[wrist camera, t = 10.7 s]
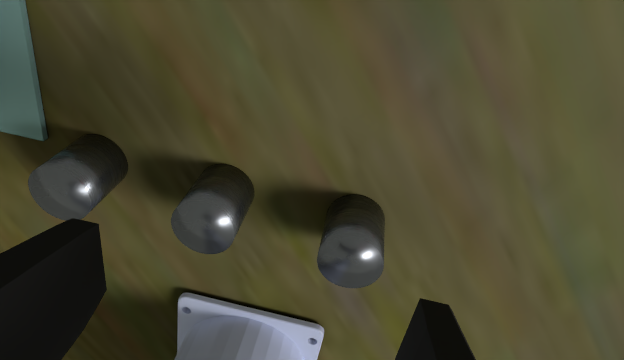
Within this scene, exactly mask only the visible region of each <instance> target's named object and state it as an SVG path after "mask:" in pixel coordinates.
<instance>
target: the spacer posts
mask: <svg viewBox="0 0 624 360" xmlns="http://www.w3.org/2000/svg"><path fill="white" fill-rule="evenodd" d="M127 171H128V164H127V160H126V157H125V155H124V153H123V152H122V150H121V149H120V148H119V147H118V146H117V145H116V144H115V143H114V142H113V141H111V140H110V139H108V138H106V137H104V136H101V135H96V134H88V135H84V136H82V137H80V138H79V139H77V140H76V141H75V142H73V143H72V144H70V145H69V146H68V147H66V148H65V149H63V150H62V151H61V152H59V153H58V154H56V155H55V156H53V157H52V158H51V159H49V160H48V161H46V162H45V163H44V164H42V165H41V166H39V167H38V168H37V169H35V170H34V171H33V172H32V173H31V174H30V177H29V180H28V185H29V190H30V193H31V195H32V197H33V198H34V200H35V201H36V203H37V204H38V205H39V206H40V207H41V208H42V209H43V210H45V211H46V212H47V213H49V214H50V215H52V216H54V217H56V218H59V219H62V220H69V219H71V218H75V219H79V220H80V219H82V218H84V217H85V216H86V215H87V214H88V213H89V212H90V211H91V210H92V209H93V208H94V207H95V206H96V205H97V204H98V203H99V202H100V201H101V200H102V199H103V198H104V197H105V196H107V195H108V194H109V193H110V192H111V191H112V190H113V189H114V188H115V187H116V186H117V185H118V184H119V183H120V182H121V181H122V180H123V179H124V178H125V176H126V174H127ZM253 199H254V187H253V184H252V182H251V180H250V179H249V178H248V176H247V175H246V174H245V173H244V172H243V171H241V170H240V169H238V168H236V167H234V166H231V165H227V164H216V165H212V166H210V167H208V168H207V169H205V170H204V171H203V173H202V174H201V175H200V177H199V178H198V179H197V181H196V182H195V183H194V185H193V186H192V187H191V189H190V190H189V191H188V193H187V194H186V196H185V197H184V198H183V200H182V201H181V202H180V204H179V205H178V206H177V208H176V209H175V210H174V212H173V214H172V218H171V225H172V229H173V231H174V233H175V235H176V236H177V238H178V239H179V240H180V241H181V242H182V243H183V244H184V245H185V246H187V247H188V248H190V249H192V250H194V251H197V252H200V253H204V254H216V253H220V252H223V251H225V250H226V249H227V248H229V247H230V245H231V244H232V242H233V240H234V238H235V236H236V234H237V232H238V230H239V228H240V226H241V224H242V222H243V220H244V218H245V216H246V214H247V211H248V209H249V207H250V205H251V203H252V201H253ZM384 228H385V217H384V213H383V211H382V209H381V207H380V206H379V205H378V204H377V203H376V202H375V201H373V200H372V199H370V198H368V197H365V196H362V195H346V196H343V197H340V198H338V199H337V200H335V201H334V202H333V203H332V204H331V205H330V207H329V209H328V212H327V216H326V220H325V225H324V229H323V234H322V239H321V243H320V248H319V252H318V257H317V263H318V267H319V270H320V272H321V273H322V274H323V276H324V277H325V278H326V279H328V280H329V281H330V282H332V283H334V284H336V285H338V286H342V287H346V288H361V287H365V286H368V285H370V284H372V283H373V282H375V281H376V280H377V279H378V278H379V277H380V275H381V274H382V271H383V266H384Z"/></svg>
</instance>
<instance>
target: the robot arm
mask: <svg viewBox="0 0 624 360" xmlns="http://www.w3.org/2000/svg"><path fill="white" fill-rule="evenodd" d="M106 290H107V289H106V281H105V273H104V265H103V256H102V248H101V240H100V232H99V224H96V223H92V222H88V221H83V220H79V219H75V218H71V219H69V220H67V221H65V222H63V223H61V224H58V225H56V226H54V227H52V228H50V229H48V230H46V231H44V232H42V233H40V234H38V235H36V236H34V237H32V238H30V239H28V240H26V241H24V242H22V243H20V244H19V245H17V246H15V247H13V248H11V249H9V250H7V251H5V252H3V253H1V254H0V360H61V359H62V358H63V357H64V355H65V354H66V353H67V351H68V350H69V349H70V347H71V346H72V345H73V343H74V342H75V341H76V339H77V338H78V337H79V335H80V334H81V332H82V331H83V330H84V328H85V326H86V325H87V323H88V321H89V320H90V318H91V316H92V315H93V313H94V311H95V309H96V308H97V306H98V304H99V302H100V300H101V299H102V297H103V295H104V293H105V292H106ZM323 336H324V329H323V327H322V326H320V325H318V324H315V323H311V322H307V321H303V320H299V319H295V318H291V317H287V316H283V315H278V314H274V313H270V312H266V311H262V310H258V309H254V308H250V307H246V306H242V305H237V304H233V303H229V302H225V301H221V300H217V299H213V298H209V297H205V296H201V295H197V294H192V293H183V294H181V296H180V297H179V299H178V332H177V355H176V357H175V359H174V360H317V358H318V354H319V351H320V347H321V344H322V340H323ZM312 338H314V339H312ZM395 360H476V359H475V357H474V355H473V353H472V351H471V349H470V347H469V345H468V343H467V341H466V339H465V337H464V335H463V333H462V331H461V328H460V326H459V324H458V322H457V320H456V318H455V316H454V314H453V312H452V310H451V308H450V306H449V305H447V304H443V303H438V302H434V301H430V300H425V299H421V298H420V300H419V302H418V305H417V307H416V309H415V312H414V314H413V317H412V319H411V321H410V324H409V326H408V329H407V331H406V334H405V336H404V338H403V341H402V343H401V346H400V348H399V351H398V353H397V355H396V358H395Z"/></svg>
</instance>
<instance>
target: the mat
mask: <svg viewBox="0 0 624 360" xmlns="http://www.w3.org/2000/svg"><path fill="white" fill-rule="evenodd" d="M0 131H2V132H6V133H10V134H15V135H19V136H23V137H28V138H32V139H36V140H40V141H45V140H46V139H48V136H47V130H46V124H45V118H44V112H43V106H42V100H41V94H40V88H39V82H38V76H37V70H36V63H35V57H34V51H33V45H32V39H31V33H30V27H29V21H28V15H27V9H26V3H25V0H0Z"/></svg>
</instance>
